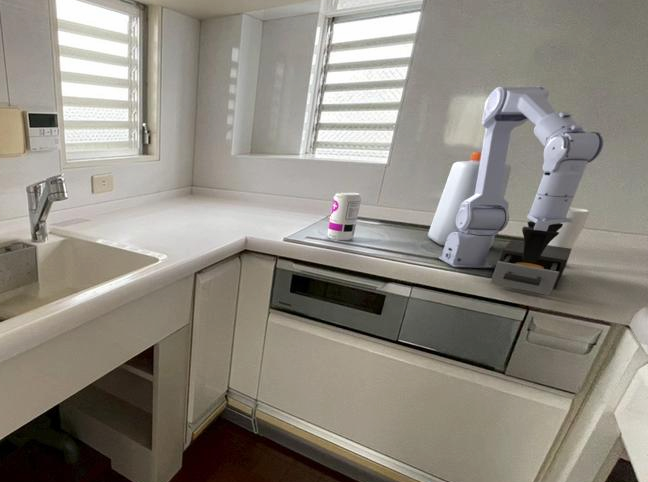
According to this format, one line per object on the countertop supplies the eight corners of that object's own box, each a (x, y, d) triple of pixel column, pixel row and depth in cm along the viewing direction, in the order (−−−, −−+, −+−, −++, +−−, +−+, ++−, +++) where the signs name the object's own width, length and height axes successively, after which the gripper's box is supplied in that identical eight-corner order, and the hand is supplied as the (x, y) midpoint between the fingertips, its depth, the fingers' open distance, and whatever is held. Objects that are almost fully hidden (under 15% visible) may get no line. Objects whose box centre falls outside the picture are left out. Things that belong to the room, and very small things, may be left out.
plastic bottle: (473, 238, 136) (500, 151, 126) (496, 250, 123) (529, 154, 112) (423, 236, 140) (445, 151, 129) (440, 247, 126) (467, 153, 116)
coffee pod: (520, 282, 92) (525, 268, 91) (505, 275, 97) (510, 262, 96) (544, 283, 92) (549, 269, 90) (527, 276, 96) (533, 262, 95)
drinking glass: (533, 258, 116) (553, 205, 110) (565, 262, 112) (588, 208, 106) (534, 263, 111) (555, 209, 105) (568, 268, 107) (592, 212, 101)
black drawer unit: (555, 289, 94) (567, 260, 91) (493, 276, 102) (502, 249, 99) (560, 275, 103) (571, 248, 100) (502, 265, 110) (511, 239, 108)
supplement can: (327, 239, 136) (335, 194, 130) (326, 234, 143) (333, 191, 137) (354, 241, 133) (363, 195, 128) (351, 236, 140) (360, 192, 135)
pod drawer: (547, 301, 85) (557, 277, 83) (486, 288, 92) (494, 266, 90) (554, 281, 96) (563, 260, 94) (499, 271, 103) (506, 251, 101)
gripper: (580, 201, 76) (553, 269, 81) (583, 193, 85) (558, 254, 90) (531, 197, 81) (508, 261, 86) (538, 190, 90) (517, 248, 95)
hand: (531, 257), depth 88 cm, fingers open, 7 cm apart
